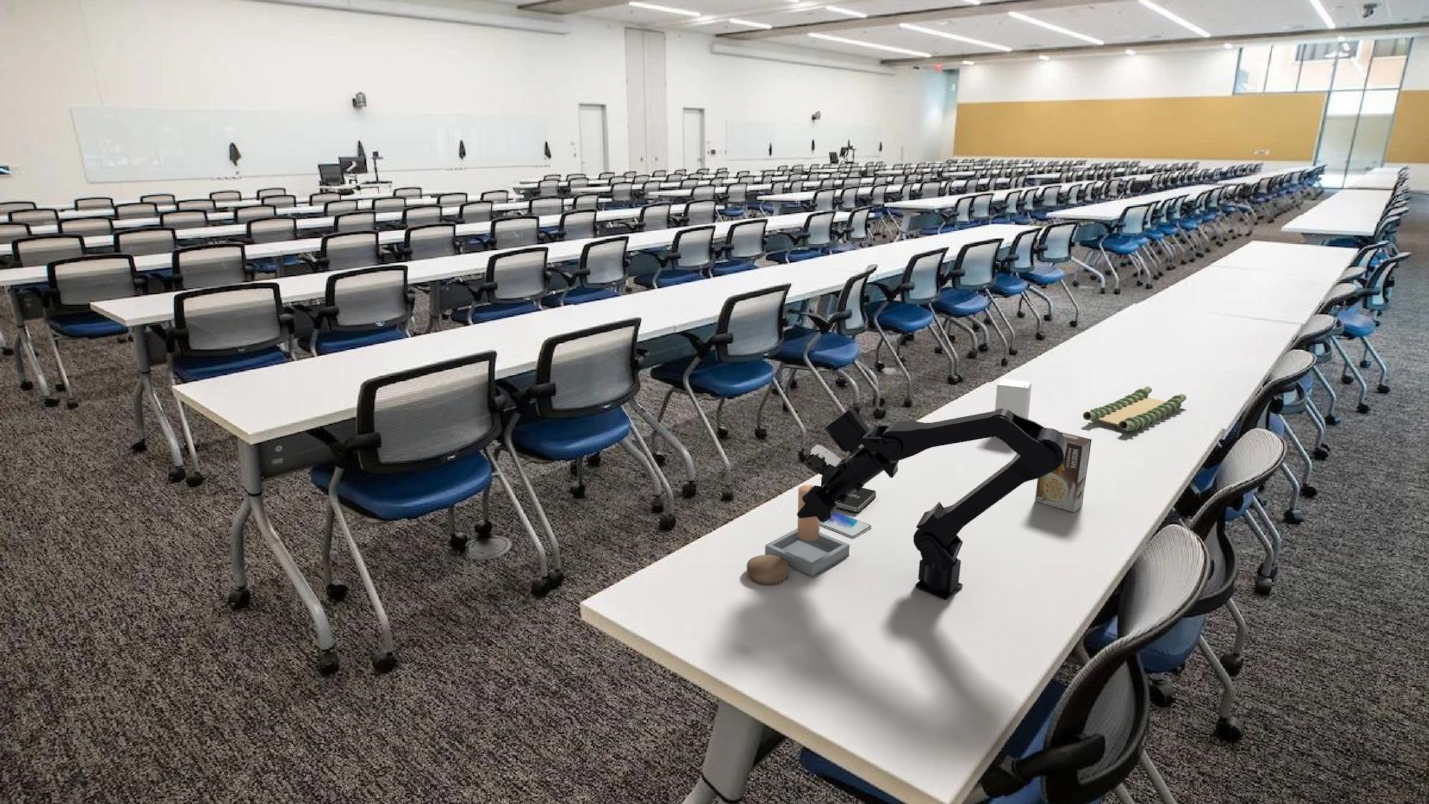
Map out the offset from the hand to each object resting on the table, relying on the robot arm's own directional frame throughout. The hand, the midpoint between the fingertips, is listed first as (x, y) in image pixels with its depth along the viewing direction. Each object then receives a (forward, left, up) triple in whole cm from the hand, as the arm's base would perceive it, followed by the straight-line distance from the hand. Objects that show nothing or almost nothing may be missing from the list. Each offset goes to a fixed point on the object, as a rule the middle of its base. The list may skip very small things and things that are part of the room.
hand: (802, 511), depth 157 cm
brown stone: (0, +11, -10) cm, 14 cm away
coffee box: (-27, -60, -10) cm, 67 cm away
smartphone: (+4, -16, -10) cm, 20 cm away
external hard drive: (+7, -27, -10) cm, 30 cm away
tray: (-1, 0, -10) cm, 10 cm away
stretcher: (-19, -136, -10) cm, 137 cm away
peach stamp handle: (-1, 0, -5) cm, 5 cm away
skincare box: (+1, -94, -10) cm, 95 cm away
